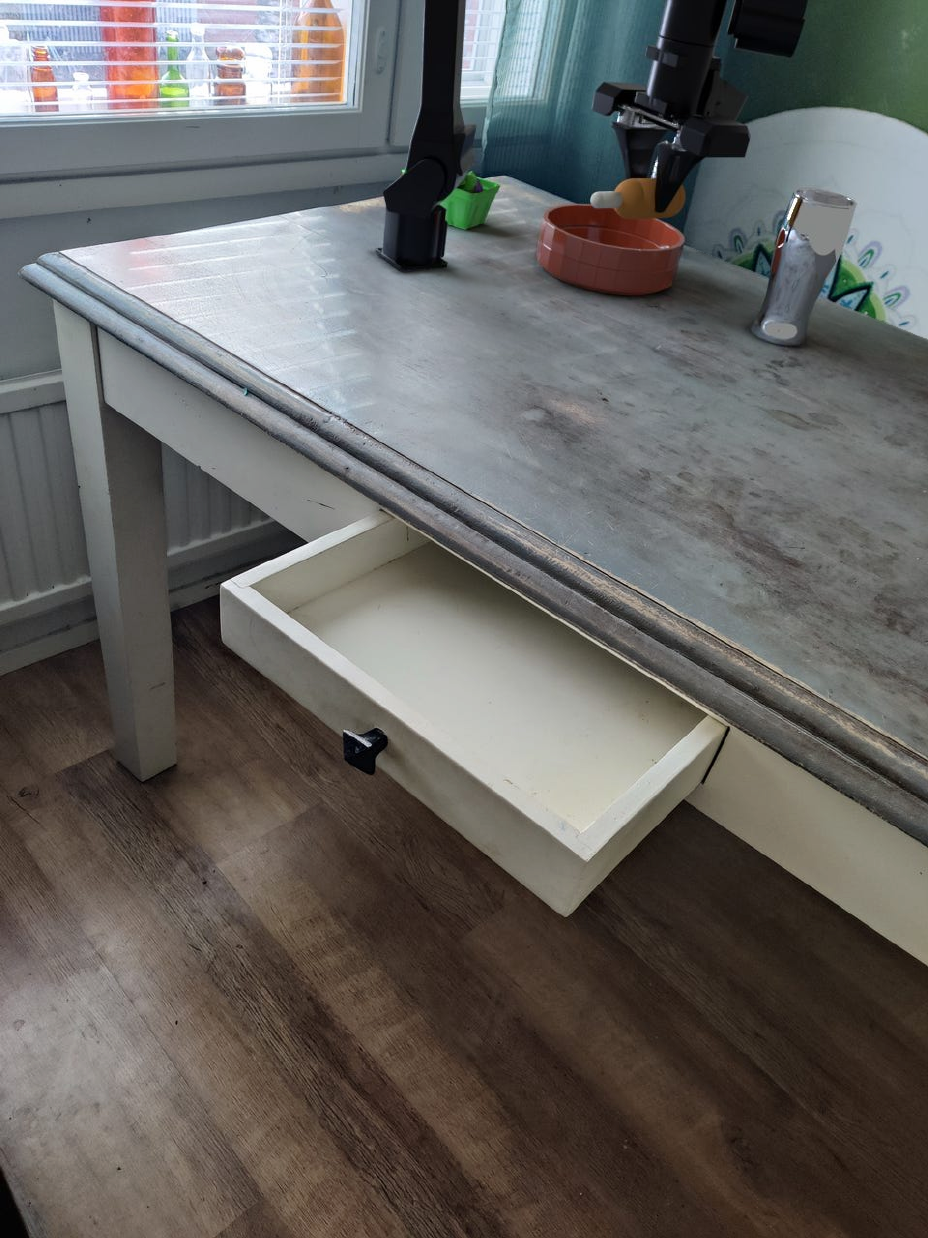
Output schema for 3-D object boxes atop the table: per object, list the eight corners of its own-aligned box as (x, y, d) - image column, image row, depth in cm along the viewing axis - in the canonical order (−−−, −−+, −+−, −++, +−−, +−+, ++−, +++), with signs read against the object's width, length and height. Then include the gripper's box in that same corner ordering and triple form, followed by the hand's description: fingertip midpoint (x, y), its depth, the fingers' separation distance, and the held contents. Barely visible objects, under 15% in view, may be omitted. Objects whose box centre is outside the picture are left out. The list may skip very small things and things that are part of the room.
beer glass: (809, 332, 110) (859, 196, 101) (806, 353, 105) (858, 211, 96) (749, 318, 111) (793, 182, 102) (744, 337, 106) (789, 196, 97)
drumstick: (663, 210, 107) (673, 172, 105) (687, 222, 105) (697, 183, 102) (577, 213, 101) (584, 173, 99) (599, 226, 99) (608, 185, 96)
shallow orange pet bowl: (628, 308, 109) (640, 260, 105) (508, 262, 116) (515, 215, 113) (696, 280, 120) (708, 235, 117) (582, 239, 127) (591, 196, 124)
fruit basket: (497, 223, 128) (511, 132, 121) (463, 236, 122) (475, 140, 115) (427, 201, 132) (436, 111, 125) (390, 212, 126) (398, 118, 119)
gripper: (813, 64, 91) (760, 231, 101) (685, 26, 103) (649, 179, 113) (729, 59, 86) (682, 236, 96) (605, 19, 98) (574, 180, 107)
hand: (647, 205), depth 103 cm, fingers closed on drumstick, 4 cm apart
